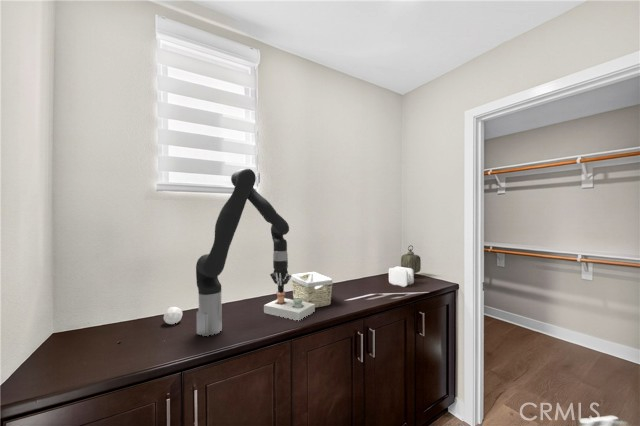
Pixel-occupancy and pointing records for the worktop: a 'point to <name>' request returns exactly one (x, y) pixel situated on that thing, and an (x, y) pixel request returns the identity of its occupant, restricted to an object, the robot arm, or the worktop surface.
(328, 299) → the storage basket
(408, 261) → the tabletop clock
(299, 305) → the sage plunger
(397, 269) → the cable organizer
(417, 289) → the worktop surface
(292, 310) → the panel
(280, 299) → the terracotta plunger
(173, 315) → the geometric ball
